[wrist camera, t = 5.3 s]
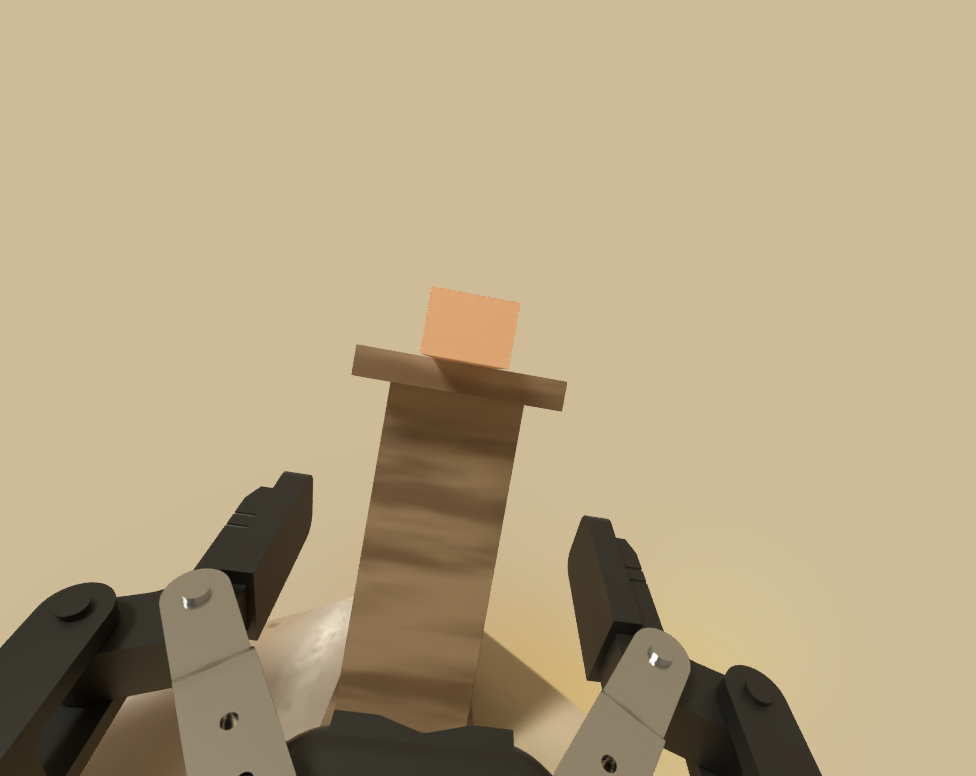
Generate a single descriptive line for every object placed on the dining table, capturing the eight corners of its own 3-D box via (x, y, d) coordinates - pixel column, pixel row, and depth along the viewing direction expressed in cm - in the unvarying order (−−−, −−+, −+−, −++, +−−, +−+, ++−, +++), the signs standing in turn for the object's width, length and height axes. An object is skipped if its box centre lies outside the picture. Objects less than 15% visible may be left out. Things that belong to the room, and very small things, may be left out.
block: (508, 369, 21) (520, 302, 21) (419, 353, 21) (431, 286, 21) (482, 368, 47) (487, 338, 47) (442, 361, 47) (447, 331, 47)
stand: (485, 827, 33) (567, 381, 32) (279, 803, 32) (356, 344, 31) (477, 676, 49) (531, 377, 48) (339, 657, 48) (392, 352, 47)
